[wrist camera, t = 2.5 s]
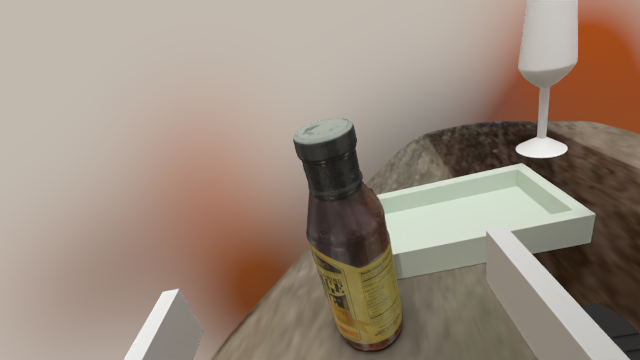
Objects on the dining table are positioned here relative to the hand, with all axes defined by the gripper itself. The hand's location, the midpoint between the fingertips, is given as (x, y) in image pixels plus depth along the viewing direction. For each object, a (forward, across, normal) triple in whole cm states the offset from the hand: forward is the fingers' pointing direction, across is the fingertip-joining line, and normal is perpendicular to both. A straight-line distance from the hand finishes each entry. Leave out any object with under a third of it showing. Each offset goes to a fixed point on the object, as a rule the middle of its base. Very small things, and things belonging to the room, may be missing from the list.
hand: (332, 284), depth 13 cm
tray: (+21, +14, -16) cm, 30 cm away
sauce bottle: (+10, +1, -16) cm, 19 cm away
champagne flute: (+36, +32, -15) cm, 50 cm away
